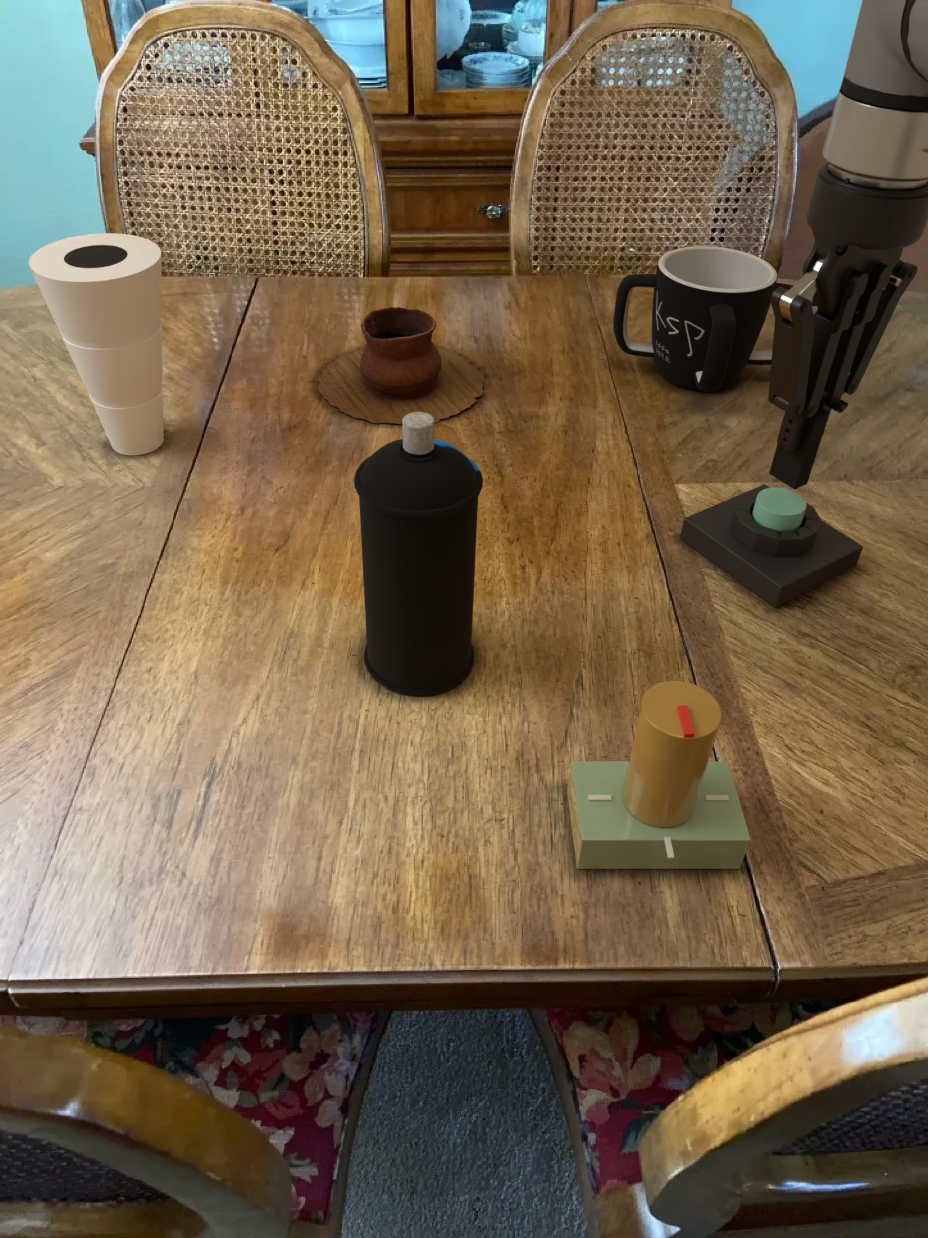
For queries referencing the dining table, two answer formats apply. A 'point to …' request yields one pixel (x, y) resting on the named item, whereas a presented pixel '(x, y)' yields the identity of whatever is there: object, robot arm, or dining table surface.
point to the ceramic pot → (400, 372)
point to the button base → (770, 548)
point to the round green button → (779, 509)
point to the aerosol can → (418, 559)
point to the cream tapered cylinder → (111, 328)
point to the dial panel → (632, 844)
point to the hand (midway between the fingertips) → (787, 478)
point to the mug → (702, 315)
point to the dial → (670, 752)
